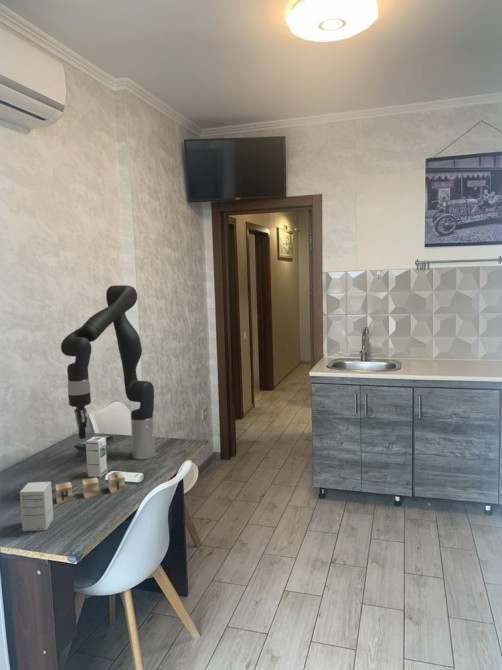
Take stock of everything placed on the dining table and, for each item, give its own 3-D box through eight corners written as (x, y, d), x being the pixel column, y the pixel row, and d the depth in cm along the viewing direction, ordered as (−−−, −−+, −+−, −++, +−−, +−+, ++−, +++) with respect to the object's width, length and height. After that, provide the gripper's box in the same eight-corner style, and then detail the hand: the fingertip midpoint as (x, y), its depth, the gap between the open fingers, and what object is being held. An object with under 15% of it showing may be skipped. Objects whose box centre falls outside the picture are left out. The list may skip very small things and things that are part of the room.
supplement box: (30, 520, 155) (27, 482, 154) (54, 518, 156) (52, 480, 154) (21, 531, 148) (18, 491, 146) (46, 530, 148) (44, 490, 147)
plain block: (97, 490, 177) (96, 477, 177) (99, 495, 173) (98, 482, 172) (82, 493, 175) (82, 479, 174) (84, 498, 170) (84, 484, 170)
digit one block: (122, 485, 181) (121, 472, 180) (125, 490, 176) (124, 477, 176) (108, 488, 179) (107, 474, 178) (111, 493, 174) (110, 479, 174)
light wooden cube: (71, 495, 173) (70, 481, 173) (72, 501, 169) (71, 487, 168) (56, 498, 171) (55, 484, 170) (57, 504, 166) (56, 490, 166)
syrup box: (101, 477, 189) (99, 441, 187) (87, 476, 190) (85, 440, 188) (108, 472, 194) (106, 436, 193) (94, 471, 195) (92, 436, 194)
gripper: (93, 394, 171) (96, 441, 173) (87, 386, 183) (90, 431, 185) (70, 397, 168) (73, 445, 170) (66, 389, 180) (69, 434, 182)
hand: (82, 438), depth 178 cm, fingers closed
